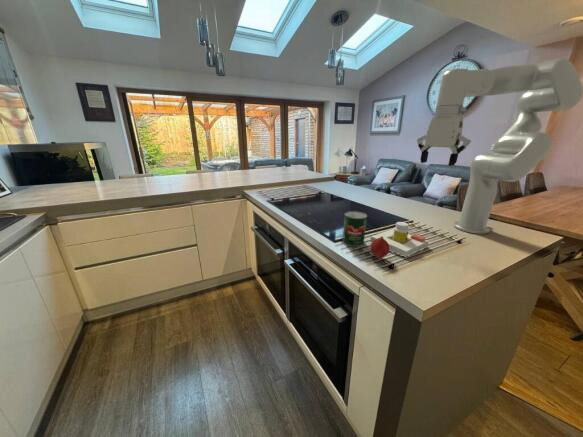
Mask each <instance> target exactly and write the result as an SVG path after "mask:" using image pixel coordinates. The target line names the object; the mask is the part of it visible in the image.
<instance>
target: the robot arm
mask: <svg viewBox="0 0 583 437" xmlns="http://www.w3.org/2000/svg"><path fill="white" fill-rule="evenodd" d="M522 92H524V93H523V94H522V95H521V96H520V97H519V99H518V100H517V103H516V104H517V105H516V116H515V121H514V123H512V125H511V126H510V127H508V129H507V130H506V131H505V132H504V133H503V134H502V136H500V137H499V138H498V139H497V140H496V142H495V143H494V144H493V147H492V152H484V153H480V154H478V155H476V156H475V157H474V158H473V159H472V160H471V162H470V171H469V172H470V174H469V175H470V176H469V182H468V185H467V189H466V193H465V198H464V201H463V205H462V209H461V213H460V217H459V219H458V221H454V222H453V227H455V228H456V229H458V230H460V231H463V232H466V233H469V234H478V235H486V234H488V233H489V234H490V231H491V229H490V228H489V227H488V226H487V225H488V222H489V218H490V215H491V212H492V208H493V205H494V203H495V199H496V196H497V193H498V184H497V182H496V180H497V181H502V182H503V181H504V182H510V183H511V182H512V183H513V182H518V181H520V180H522V179H523V178H524V177H525V176H526V175H527V174H529V172H530V171H532V169H534V167H536V166H537V165H538V164H539V163H540V162H541V161H542V160H543V159H544V157H546V156H547V154H548V153H549V152H550V149H551V148H552V147H551V146H552V143H553V140H552V136H551V135H550V134H549V133H546V132H544V131H543V132H540V131H541V129H542V120H541V119H540V118H539V116H538V113H543V112H544V113H545V112H559V111H566V110H570V109H572V108H574V107H575V106H577V105H578V104H579V102H580V101H581V99H582V98H583V84H582V82H581V79H580V76H579V74H578V72H577V69H576V68H575V66H574V64H573V63H572V62H571V61H570V60H569V59H567V58H565V57H560V58H553V59H551V60H545V61H541V62H536V63H530V64H518V65H507V66H502V67H497V68H494V69H488V68H481V69H479V68H478V69H468V68H453V69H450V70H447V71H445V72H444V73H443V74H442V77H441V82H440V87H439V91H438V97H437V101H436V107H435V112H434V115H433V116H432V118H431V120H430V122H429V125H428V127H427V131H426V134H425V135H423V136H421V137H419V138H417V139H416V141H417V142H416V143H417V146H418V148H419V150H420V152H421V153H420V154H421V155H420V163H421V164H423V163H427V162H428V157H429V151H428V150H430V149H431V148H448V149H450V150H451V152H452V153H450V157H449V159H448V164H447V165H448V166H450V167H452V166H453V167H454V166H455V164H456V163H457V161H458V156H459V154H461V152H463V151H464V150H466V148H467V147H468V146H469V145H470V144H471V142H472V140H471V139H470V138H468V137H466V136H464V135H463V128H464V116H463V115H462V113H466V112H467V107H464V101H465V98H472V97H473V98H474V97H482V96H483V97H486V96H488V97H489V96H498V95H507V94H513V93H514V94H515V93H522ZM423 142H424V143H423ZM461 143H462V144H461ZM460 144H461V146H460Z"/></svg>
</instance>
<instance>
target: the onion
mask: <svg viewBox="0 0 583 437" xmlns="http://www.w3.org/2000/svg"><path fill="white" fill-rule="evenodd" d="M389 248H390V247H389V244H388V242H387V241H386V240H385V239H383V236H381V237H380V238H377V239H375V240H374V241H373V242H372V243H370V252H371V254H372V255H373V256H374V257H375V258H376V259H378V260H379V258H380V259H382V258H384V257H386V256H388V254H389V252H390V251H389Z"/></svg>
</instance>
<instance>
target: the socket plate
mask: <svg viewBox="0 0 583 437" xmlns="http://www.w3.org/2000/svg"><path fill="white" fill-rule="evenodd" d="M393 233H394V228H391V229H388V230H385V231H382V232H379V233H378V234H374V235H371V236H370V240H369V241H370V242H373V241H374V240H375V239H377V238H380V237H381V236H383V239H385V240H386V241H387V242H388V244H389V247H390V248H389V250H391V251H394V252H397V253H399V254H401V255H404V256H407V255H409V254H411V253H413V252H415V251H418V250H420V249H422V248H425V247H427V246H429V242H430V241H429V240H426V239H427V238H426V237H424V236H420V235H418V234H409V233H408V236H407V241H406V243H404V244H400V243H398V242H396V241H393V240H392V239H393ZM427 248H428V247H427ZM425 249H426V248H425Z"/></svg>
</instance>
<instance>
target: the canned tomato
mask: <svg viewBox="0 0 583 437" xmlns="http://www.w3.org/2000/svg"><path fill="white" fill-rule="evenodd" d="M367 218H368V215H367V213H365V212H361V211H357V210H352V211H351V210H350V211H347V212H344V218H343V219H344V220H343V231H342V243H343V244H344V245H346V246H350V247H362V246H363V245H364V244H365V235H366V228H367V227H366V226H367ZM361 245H362V246H361Z"/></svg>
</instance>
